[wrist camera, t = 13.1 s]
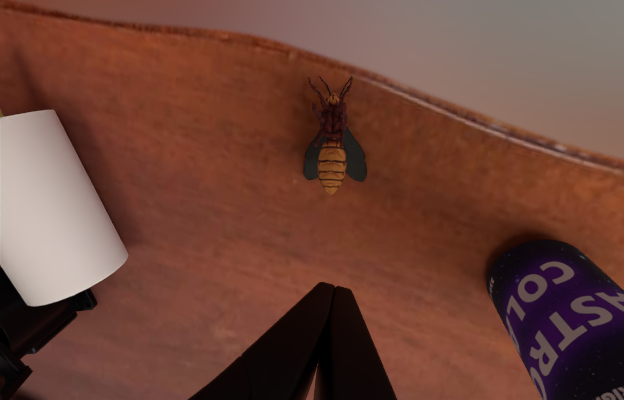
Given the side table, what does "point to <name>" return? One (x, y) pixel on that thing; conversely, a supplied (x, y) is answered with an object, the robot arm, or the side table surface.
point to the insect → (334, 145)
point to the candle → (50, 213)
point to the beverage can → (562, 319)
